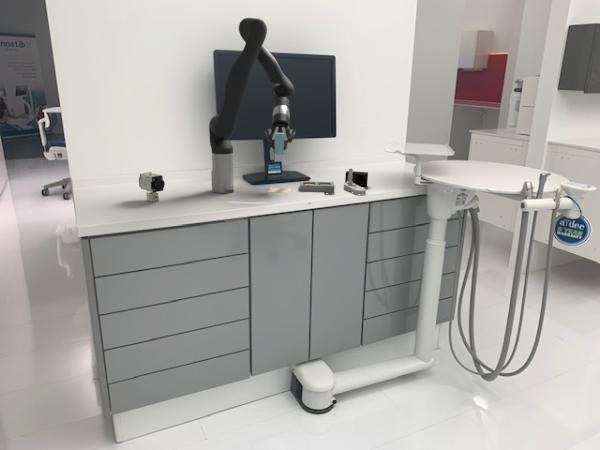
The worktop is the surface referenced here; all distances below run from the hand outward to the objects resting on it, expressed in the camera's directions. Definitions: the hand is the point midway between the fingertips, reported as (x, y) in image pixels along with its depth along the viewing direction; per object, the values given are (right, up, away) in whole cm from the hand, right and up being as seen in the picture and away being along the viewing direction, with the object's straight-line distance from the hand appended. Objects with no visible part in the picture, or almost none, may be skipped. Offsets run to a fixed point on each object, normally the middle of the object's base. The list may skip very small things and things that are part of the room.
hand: (279, 148), depth 207 cm
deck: (0, -18, +8) cm, 20 cm away
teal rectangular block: (0, -5, +3) cm, 6 cm away
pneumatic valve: (-52, -23, -11) cm, 58 cm away
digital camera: (+36, -15, +23) cm, 45 cm away
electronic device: (+34, -18, +13) cm, 41 cm away
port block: (+17, -18, +11) cm, 27 cm away
